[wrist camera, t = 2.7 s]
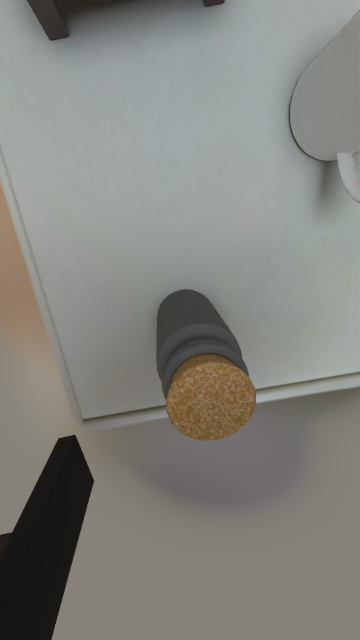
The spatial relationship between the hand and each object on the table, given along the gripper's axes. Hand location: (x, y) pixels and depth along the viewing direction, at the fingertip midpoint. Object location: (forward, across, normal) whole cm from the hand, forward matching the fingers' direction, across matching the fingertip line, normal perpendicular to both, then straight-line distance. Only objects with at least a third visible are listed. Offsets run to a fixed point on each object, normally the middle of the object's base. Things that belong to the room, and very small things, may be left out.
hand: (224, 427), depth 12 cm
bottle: (+17, 0, 0) cm, 17 cm away
